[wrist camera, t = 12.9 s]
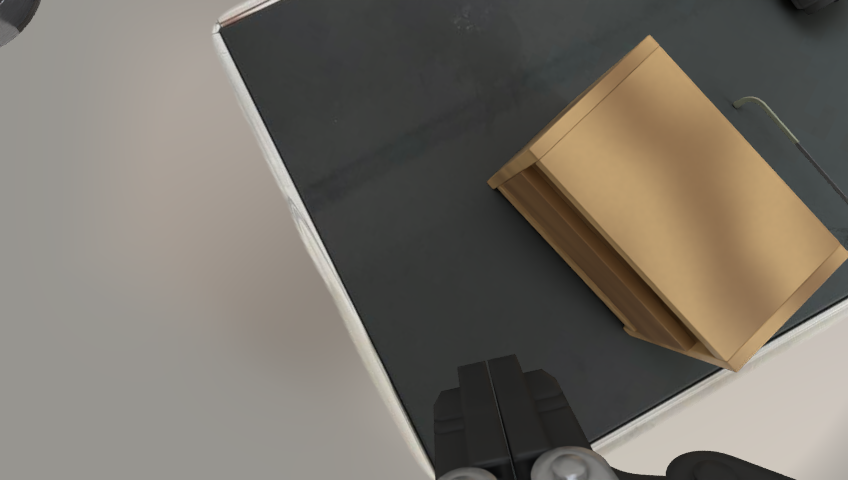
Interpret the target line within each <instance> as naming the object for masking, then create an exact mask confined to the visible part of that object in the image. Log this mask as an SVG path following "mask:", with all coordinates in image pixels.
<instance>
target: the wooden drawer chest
mask: <svg viewBox="0 0 848 480" xmlns="http://www.w3.org/2000/svg"><path fill="white" fill-rule="evenodd" d="M487 183H488V184H489V185H490V186H491V188H492V189H495V188H498V189H499V190H500V192H501V193H502V194H503V195H504V196H505V197H506V198H507V199H508V200H509V201H510V202H511V203H512V204H513V206H514V207H515V208H516V209H517V210H518V211H519V212H520V213H521V214H522V215H523V216H524V217H525V218H526V219H527V221H528V222H529V223H530V224H531V225H532V226H533V227H534V228H535V229H536V230H537V231H538V232H539V233H540V234H541V236H542V237H543V238H544V239H545V240H546V241H547V242H548V243H549V244H550V245H551V246H552V247H553V248H554V249H555V251H556V252H557V253H558V254H559V255H560V256H561V257H562V258H563V259H564V260H565V261H566V262H567V263H568V264H569V266H570V267H571V268H572V269H573V270H574V271H575V272H576V273H577V274H578V275H579V276H580V277H581V278H582V279H583V281H584V282H585V283H586V284H587V285H588V286H589V287H590V288H591V289H592V290H593V291H594V292H595V293H596V294H597V296H598V297H599V298H600V299H601V300H602V301H603V302H604V303H605V304H606V305H607V306H608V307H609V308H610V310H611V311H612V312H613V313H614V314H615V315H616V316H617V317H618V318H619V319H620V320H621V321H622V322H623V323H624V325H625V326H624V327H623V329H624V330H625V331H626V332H627V333H628V334H629V335H631V336H633V337H636V338H639V339H642V340H645V341H648V342H651V343H654V344H656V345H659V346H662V347H665V348H668V349H671V350H674V351H677V352H679V353H682V354H685V355H688V356H691V357H694V358H697V359H699V360H702V361H705V362H708V363H711V364H714V365H717V366H720V367H722V368H725V369H728V370H731V371H734V372H738V371H739V370H740V369H741V368H742V367H743V366H744V365H745V364H746V363H747V361H748V360H749V359H750V358H751V357H752V356H753V355H754V354H755V353H756V352H757V351H758V350H759V349H760V348H761V347H762V346H763V345H764V344H765V343H766V342H767V341H768V340H769V339H770V338H771V337H772V336H773V335H774V334H775V333H776V332H777V330H778V329H779V328H780V327H781V326H782V325H783V324H784V323H785V322H786V321H787V320H788V319H789V318H790V317H791V316H792V315H793V314H794V313H795V312H796V311H797V310H798V309H799V308H800V307H801V306H802V305H803V304H804V303H805V302H806V300H807V299H808V298H809V297H810V296H811V295H812V294H813V293H814V292H815V291H816V290H817V289H818V288H819V287H820V286H821V285H822V284H823V283H824V282H825V281H826V280H827V279H828V278H829V277H830V276H831V275H832V274H833V273H834V272H835V270H836V269H837V268H838V267H839V266H840V265H841V264H842V263H843V262H844V261H845V260H846V259H847V258H848V251H847V250H846V249H845V248H844V247H843V246H842V245H840V242H839V241H838V240H837V239H836V238H835V237H834V236H833V235H832V234H831V233H830V232H829V230H828V229H827V228H826V227H825V226H824V225H823V224H822V223H821V222H820V221H819V219H818V218H817V217H816V216H815V215H814V214H813V213H812V212H811V211H810V210H809V209H808V207H807V206H806V205H805V204H804V203H803V202H802V201H801V200H800V199H799V198H798V197H797V195H796V194H795V193H794V192H793V191H792V190H791V189H790V188H789V187H788V186H787V184H786V183H785V182H784V181H783V180H782V179H781V178H780V177H779V176H778V175H777V174H776V172H775V171H774V170H773V169H772V168H771V167H770V166H769V165H768V164H767V163H766V161H765V160H764V159H763V158H762V157H761V156H760V155H759V154H758V153H757V152H756V151H755V149H754V148H753V147H752V146H751V145H750V144H749V143H748V142H747V141H746V140H745V139H744V137H743V136H742V135H741V134H740V133H739V132H738V131H737V130H736V129H735V128H734V126H733V125H732V124H731V123H730V122H729V121H728V120H727V119H726V118H725V117H724V116H723V114H722V113H721V112H720V111H719V110H718V109H717V108H716V107H715V106H714V105H713V104H712V102H711V101H710V100H709V99H708V98H707V97H706V96H705V95H704V94H703V93H702V91H701V90H700V89H699V88H698V87H697V86H696V85H695V84H694V83H693V82H692V81H691V79H690V78H689V77H688V76H687V75H686V74H685V73H684V72H683V71H682V70H681V68H680V67H679V66H678V65H677V64H676V63H675V62H674V61H673V60H672V59H671V58H670V56H669V55H668V54H667V53H666V52H665V51H664V50H663V49H662V48H661V47H660V46H659V44H658V43H657V42H656V41H655V40H654V39H653V38H652V37H651V36H650V35H648V36H647V37H646V38H645V39H644V40H643V41H641V42H640V43H639V44H638V45H637V46H636V47H634V48H633V49H632V50H631V51H630V52H629V53H627V54H626V55H625V56H624V57H623V58H622V59H621V60H619V61H618V62H617V63H616V64H615V65H614V66H612V67H611V68H610V69H609V70H608V71H607V72H605V73H604V74H603V75H602V76H601V77H600V78H598V79H597V80H596V81H595V82H594V83H593V84H592V85H590V86H589V87H588V88H587V89H586V90H585V91H583V92H582V93H581V94H580V95H579V96H578V97H576V98H575V99H574V100H573V101H572V102H571V103H569V104H568V105H567V106H566V107H565V108H564V109H563V110H562V111H561V112H560V113H559V114H558V115H557V116H556V117H555V118H554V119H553V120H551V121H550V122H549V123H548V124H547V125H546V126H545V127H544V128H543V129H542V130H541V131H540V132H539V133H538V134H537V135H536V136H535V137H533V138H532V139H531V140H530V141H529V142H528V143H527V144H526V145H525V146H524V147H523V148H522V149H521V150H520V151H519V152H518V153H516V154H515V155H514V156H513V157H512V158H511V159H510V160H509V161H508V162H507V163H506V164H505V165H504V166H503V167H502V168H501V169H500V170H498V171H497V172H496V173H495V174H494V175H493V176H492V177H491V178H490V179H489V180H488V181H487Z"/></svg>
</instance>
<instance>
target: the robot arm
mask: <svg viewBox="0 0 848 480" xmlns="http://www.w3.org/2000/svg"><path fill="white" fill-rule="evenodd" d="M487 361H488V365H489V369H490V373H491V378H492V382H493V386H494V390H495V394H496V398H497V403H498V407H499V411H500V415H501V419H502V423H503V427H504V431H505V435H506V439H507V443H508V447H509V451H510V455H511V459H512V462H513V466H514V470H515V474H516V478H517V480H795V479H793V478H790V477H787V476H784V475H782V474H779V473H776V472H774V471H771V470H768V469H766V468H763V467H760V466H758V465H755V464H752V463H749V462H747V461H744V460H741V459H739V458H736V457H733V456H730V455H727V454H724V453H719V452H714V451H693V452H689V453H685V454H682V455H680V456H678V457H676V458H675V459H674V460H673V461H672V462H671V463H670V464H669V466H668V467H667V471H666V476H654V475H639V474H632V473H627V472H623V471H620V470H617V469H615V468H613V467H611V466H610V465H609V464H608V463H607V461H606V460H605V459H604V458H603V457H602V456H601V455H599V454H597V453H596V452H594V451H593V450H592V448H591V446H590V444H589V442H588V440H587V438H586V436H585V434H584V433H583V431H582V429H581V427H580V425H579V423H578V421H577V419H576V417H575V415H574V413H573V411H572V409H571V407H570V406H569V404H568V402H567V400H566V398H565V396H564V395H563V392H562V390H561V388H560V386H559V384H558V382H557V380H556V379H555V378H554V377H552V376H551V375H549V374H548V373H546V372H545V371H543V370H542V369H540V370H535V371H531V372H526V373H523V372H522V370H521V367H520V365H519V362H518V360H517V357H516V355H515V354H513V355H509V356H504V357H500V358H495V359H491V360H487ZM458 376H459V384H460V387H459V388H454V389H450V390H445V391H441V393H440V395H439V397H438V398H437V400H436V402H435V404H434V422H435V423H434V433H435V435H434V439H435V477H436V480H515V479H514V475H513V471H512V467H511V462H510V458H509V454H508V450H507V446H506V442H505V439H504V435H503V431H502V427H501V423H500V419H499V415H498V411H497V407H496V403H495V399H494V395H493V391H492V387H491V383H490V379H489V375H488V371H487V367H486V363H485V361H483V362H478V363H474V364H469V365H465V366H460V367H458Z"/></svg>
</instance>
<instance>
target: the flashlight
mask: <svg viewBox="0 0 848 480" xmlns="http://www.w3.org/2000/svg"><path fill="white" fill-rule="evenodd" d="M791 1H792V2H793V4H794V5H795V6H796V8H797V9H804V10H805V12H806V13H807V14H808V15H810V14H812V13H814V12H816V11H818V10H820V9H822V8H824V7H825V6H827V5H829V4H830V3H833V2H836V1H839V0H791Z"/></svg>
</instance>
